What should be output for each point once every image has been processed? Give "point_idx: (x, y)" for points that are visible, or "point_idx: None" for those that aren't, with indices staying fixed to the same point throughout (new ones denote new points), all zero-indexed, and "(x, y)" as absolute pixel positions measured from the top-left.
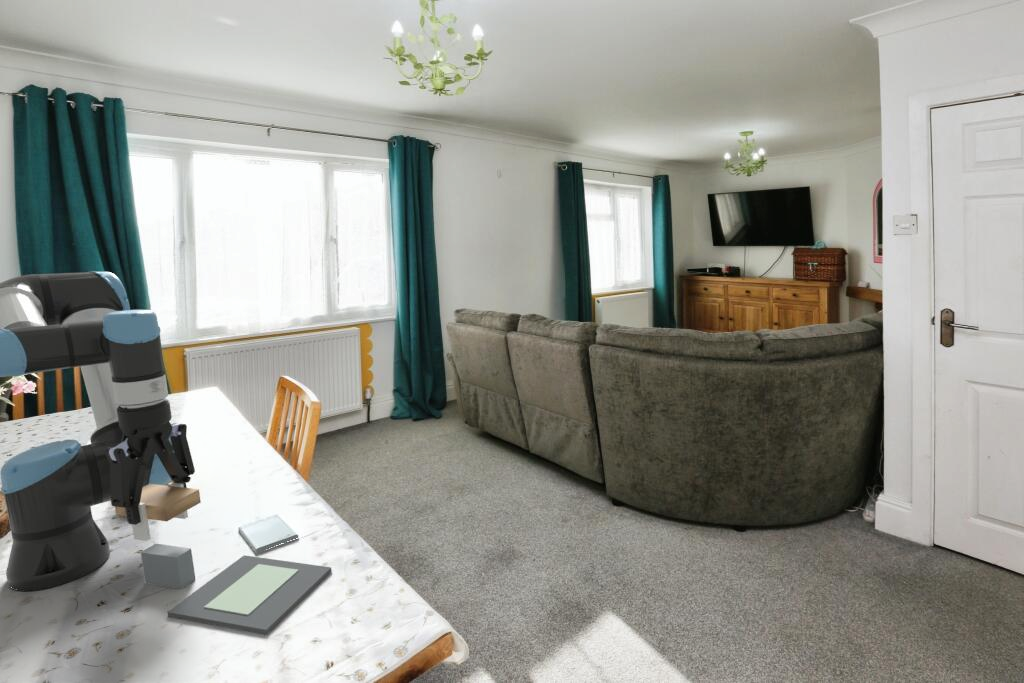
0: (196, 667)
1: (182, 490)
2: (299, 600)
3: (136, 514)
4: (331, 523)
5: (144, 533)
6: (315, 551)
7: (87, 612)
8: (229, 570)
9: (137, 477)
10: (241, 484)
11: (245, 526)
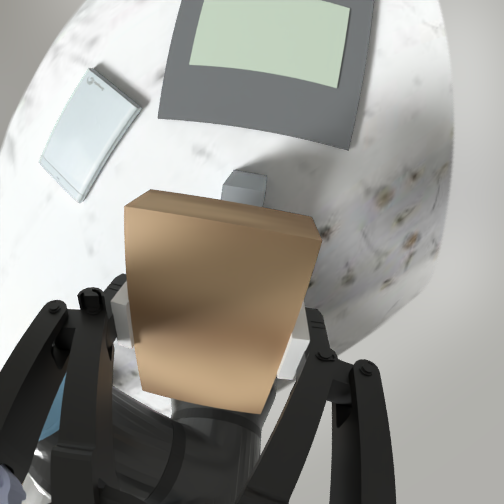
0: (439, 52)
1: (149, 273)
2: None
3: (313, 329)
4: (52, 53)
5: None
6: (133, 10)
7: (327, 287)
8: (212, 110)
9: (309, 446)
10: (11, 285)
11: (75, 190)
